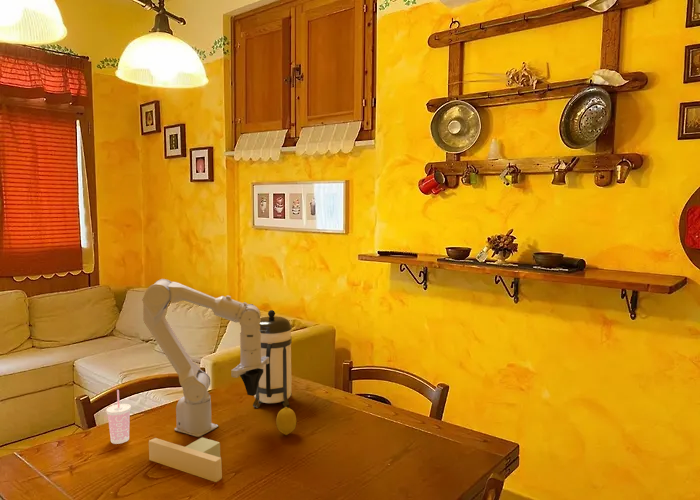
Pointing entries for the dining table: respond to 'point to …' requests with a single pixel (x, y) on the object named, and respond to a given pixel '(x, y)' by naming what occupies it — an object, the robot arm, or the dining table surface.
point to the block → (206, 446)
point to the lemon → (286, 420)
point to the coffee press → (275, 361)
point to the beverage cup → (119, 421)
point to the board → (185, 459)
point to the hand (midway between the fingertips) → (251, 394)
